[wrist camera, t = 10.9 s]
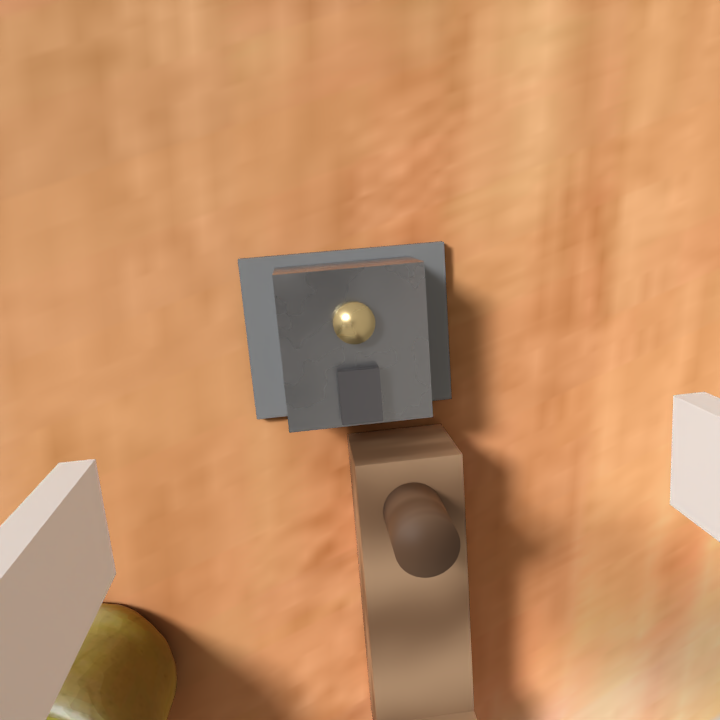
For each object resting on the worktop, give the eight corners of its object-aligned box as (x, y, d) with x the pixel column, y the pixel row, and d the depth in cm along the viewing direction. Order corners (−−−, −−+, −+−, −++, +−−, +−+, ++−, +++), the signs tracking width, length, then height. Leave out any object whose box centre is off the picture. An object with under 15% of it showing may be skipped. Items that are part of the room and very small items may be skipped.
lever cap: (416, 393, 33) (436, 421, 29) (289, 406, 33) (289, 437, 28) (408, 255, 32) (427, 262, 27) (274, 267, 31) (271, 276, 27)
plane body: (455, 697, 38) (496, 820, 31) (371, 709, 38) (391, 837, 30) (440, 423, 34) (484, 484, 27) (347, 433, 34) (363, 499, 26)
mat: (257, 415, 33) (256, 419, 33) (238, 258, 32) (237, 259, 31) (448, 395, 34) (451, 398, 34) (441, 241, 32) (444, 242, 32)
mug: (220, 603, 33) (124, 809, 25) (192, 718, 38) (105, 922, 30) (-3, 527, 34) (-175, 703, 25) (-2, 650, 39) (-145, 832, 30)
